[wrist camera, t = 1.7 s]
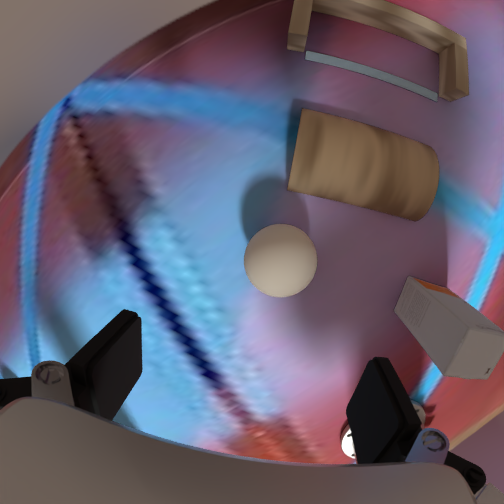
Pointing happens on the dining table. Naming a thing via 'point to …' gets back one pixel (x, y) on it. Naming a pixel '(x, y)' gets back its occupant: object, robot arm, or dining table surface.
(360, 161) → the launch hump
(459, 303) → the skincare box
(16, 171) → the dining table surface
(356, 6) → the rail
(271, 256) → the ball
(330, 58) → the tape line
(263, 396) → the dining table surface
